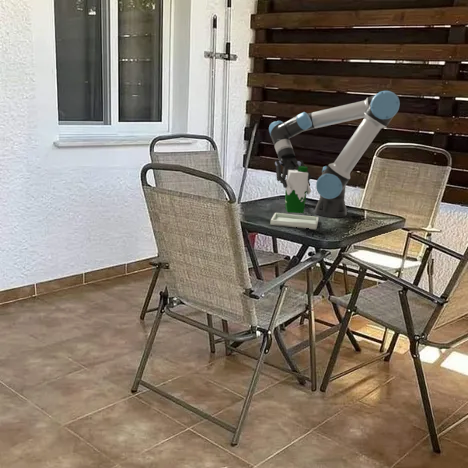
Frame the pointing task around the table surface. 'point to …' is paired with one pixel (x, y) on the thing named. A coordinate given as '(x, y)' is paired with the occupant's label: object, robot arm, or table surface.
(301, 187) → the soya milk
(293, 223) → the tray
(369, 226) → the table surface
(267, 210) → the table surface
